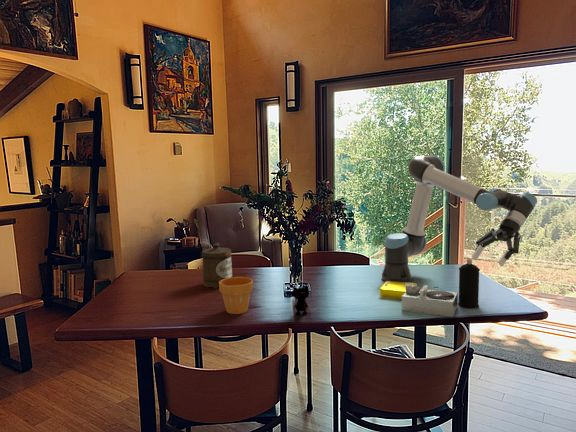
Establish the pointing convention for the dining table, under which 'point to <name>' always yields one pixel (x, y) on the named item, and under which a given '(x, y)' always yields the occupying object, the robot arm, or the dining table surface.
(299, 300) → the cat figurine
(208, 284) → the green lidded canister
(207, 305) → the dining table surface
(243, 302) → the flower pot
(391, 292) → the element tile
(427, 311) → the gearbox
